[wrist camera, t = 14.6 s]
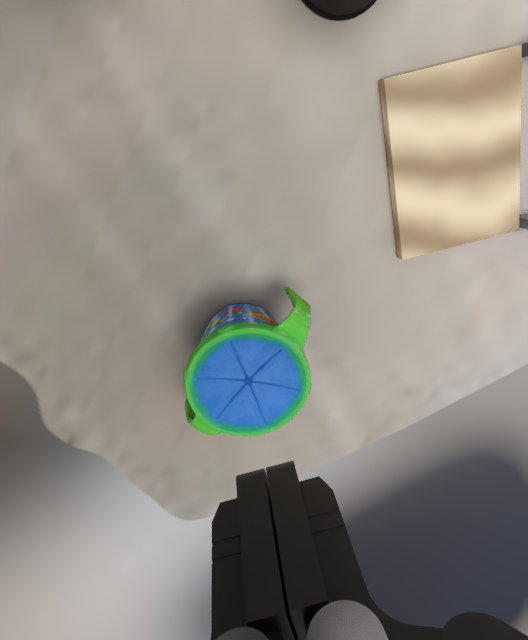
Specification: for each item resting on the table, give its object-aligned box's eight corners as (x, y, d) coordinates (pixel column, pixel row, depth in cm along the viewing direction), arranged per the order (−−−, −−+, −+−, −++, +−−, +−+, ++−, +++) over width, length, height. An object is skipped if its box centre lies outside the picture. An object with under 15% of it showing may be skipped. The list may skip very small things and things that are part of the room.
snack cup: (224, 410, 48) (227, 475, 38) (152, 352, 44) (135, 408, 34) (329, 318, 45) (360, 364, 35) (261, 248, 41) (276, 278, 32)
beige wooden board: (378, 80, 36) (384, 78, 35) (512, 47, 37) (521, 44, 36) (397, 256, 43) (402, 259, 42) (511, 227, 43) (519, 229, 42)
